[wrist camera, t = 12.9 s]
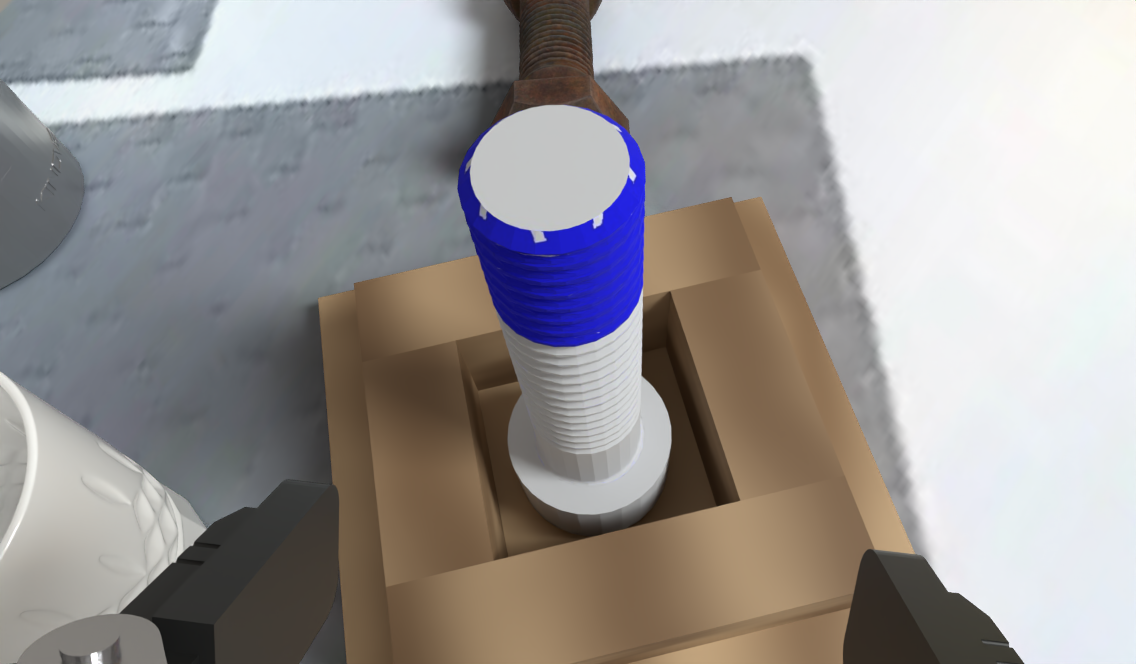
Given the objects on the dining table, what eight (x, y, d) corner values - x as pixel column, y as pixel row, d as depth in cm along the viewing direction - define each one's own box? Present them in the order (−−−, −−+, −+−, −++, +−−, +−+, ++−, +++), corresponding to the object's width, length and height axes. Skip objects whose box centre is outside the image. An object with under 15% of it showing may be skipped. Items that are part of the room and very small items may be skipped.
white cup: (273, 516, 28) (102, 409, 19) (141, 751, 24) (-139, 756, 16) (98, 443, 29) (-132, 316, 21) (-46, 652, 26) (-391, 607, 17)
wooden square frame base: (370, 825, 23) (307, 845, 18) (327, 310, 31) (276, 239, 27) (954, 677, 24) (1028, 662, 19) (757, 211, 32) (777, 127, 28)
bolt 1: (572, -9, 42) (582, 210, 34) (484, -44, 40) (474, 180, 33) (625, -106, 37) (649, 123, 30) (528, -151, 36) (528, 81, 28)
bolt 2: (698, 477, 26) (579, 571, 25) (606, 371, 28) (492, 452, 27) (771, 179, 12) (510, 360, 11) (579, 13, 14) (343, 151, 13)
